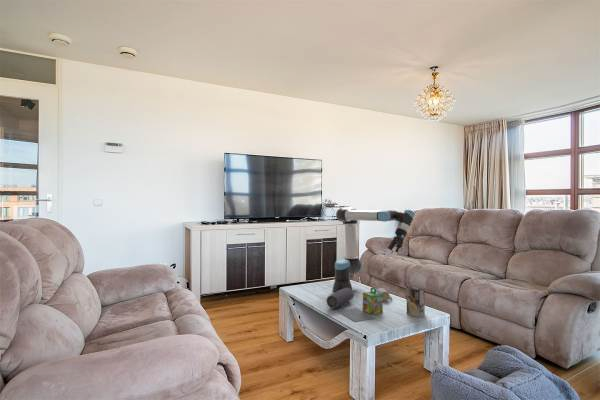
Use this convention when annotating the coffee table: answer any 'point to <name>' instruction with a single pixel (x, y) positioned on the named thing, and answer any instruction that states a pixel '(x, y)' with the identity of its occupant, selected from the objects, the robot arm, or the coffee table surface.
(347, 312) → the mat
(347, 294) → the bluetooth speaker
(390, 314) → the coffee table surface
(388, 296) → the ceramic mug
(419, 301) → the coffee box
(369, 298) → the chalk box
